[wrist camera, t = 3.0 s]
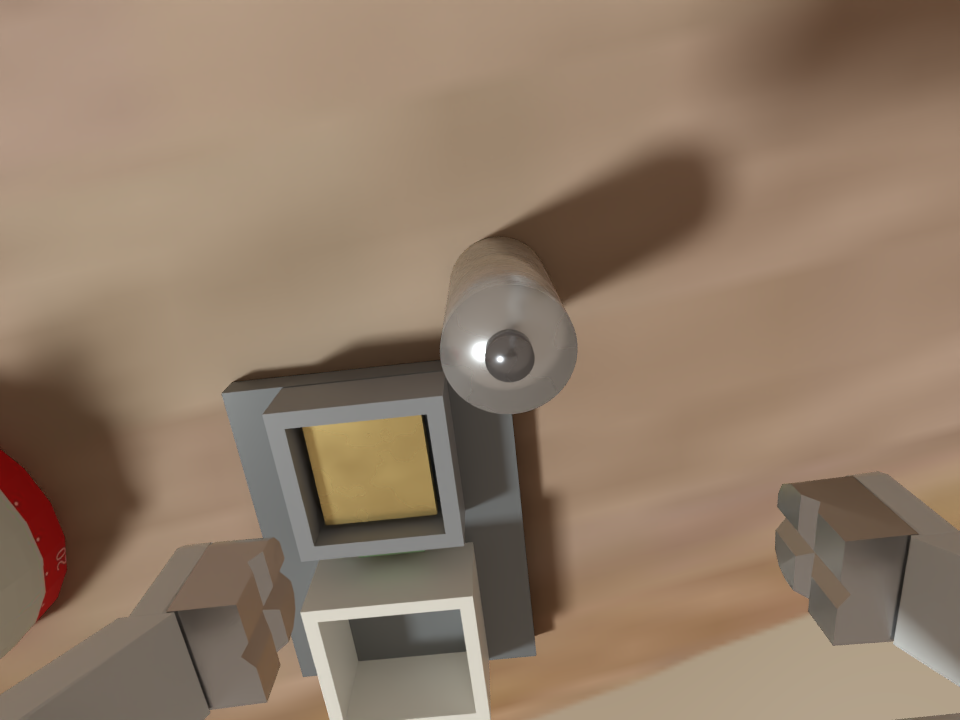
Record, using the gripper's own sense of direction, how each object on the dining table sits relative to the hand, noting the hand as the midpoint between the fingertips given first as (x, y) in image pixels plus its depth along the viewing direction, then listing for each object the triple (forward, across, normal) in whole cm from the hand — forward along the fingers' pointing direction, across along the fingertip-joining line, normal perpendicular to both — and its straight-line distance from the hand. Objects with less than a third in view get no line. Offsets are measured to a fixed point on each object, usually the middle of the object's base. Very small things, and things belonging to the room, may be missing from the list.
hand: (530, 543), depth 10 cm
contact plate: (+14, +6, +6) cm, 17 cm away
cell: (+16, 0, 0) cm, 16 cm away
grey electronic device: (+16, +6, +11) cm, 20 cm away
